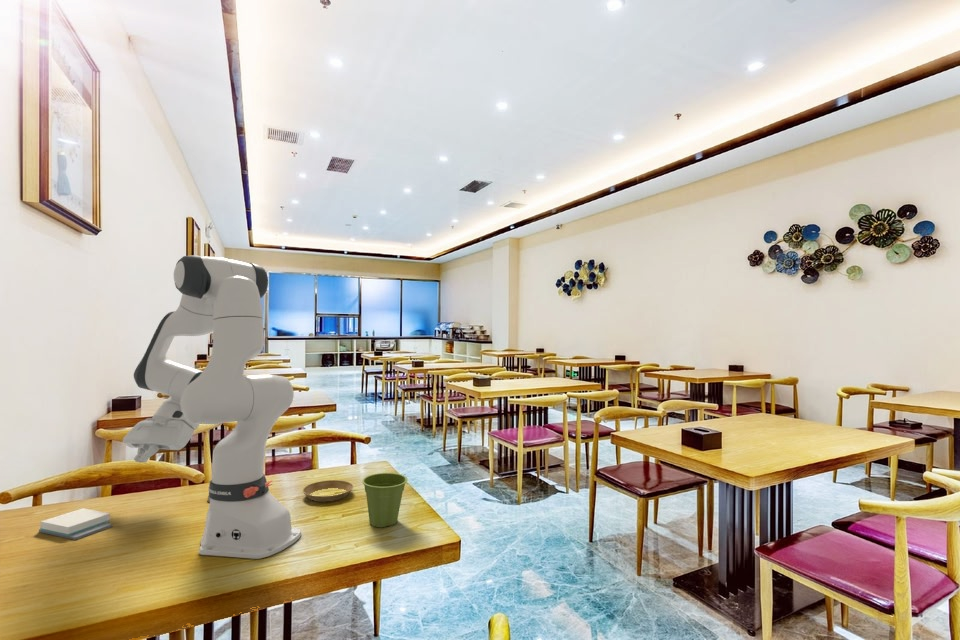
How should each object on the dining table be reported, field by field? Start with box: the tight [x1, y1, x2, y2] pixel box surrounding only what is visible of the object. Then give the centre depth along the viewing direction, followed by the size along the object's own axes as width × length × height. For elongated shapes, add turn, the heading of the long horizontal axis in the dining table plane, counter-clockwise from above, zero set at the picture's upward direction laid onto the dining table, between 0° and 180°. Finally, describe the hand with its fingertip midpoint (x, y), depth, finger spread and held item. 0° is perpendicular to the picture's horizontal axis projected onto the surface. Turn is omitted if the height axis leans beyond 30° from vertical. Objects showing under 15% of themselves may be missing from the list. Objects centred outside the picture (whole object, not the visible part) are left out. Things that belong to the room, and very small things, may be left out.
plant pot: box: [361, 472, 408, 528], centre depth 118 cm, size 12×12×11 cm
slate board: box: [38, 522, 113, 541], centre depth 110 cm, size 13×8×1 cm, turn 73°
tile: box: [39, 507, 111, 536], centre depth 111 cm, size 10×2×9 cm
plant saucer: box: [302, 479, 354, 503], centre depth 137 cm, size 15×15×3 cm
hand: (139, 461), depth 125 cm, fingers closed
